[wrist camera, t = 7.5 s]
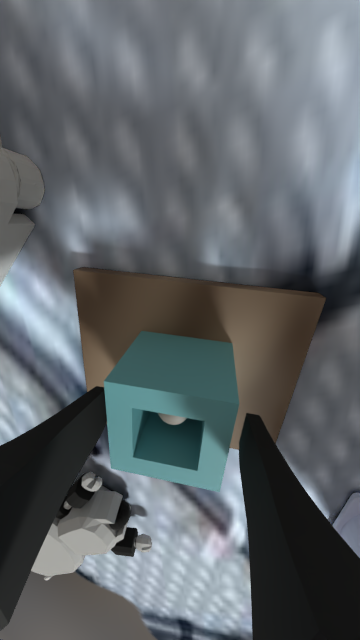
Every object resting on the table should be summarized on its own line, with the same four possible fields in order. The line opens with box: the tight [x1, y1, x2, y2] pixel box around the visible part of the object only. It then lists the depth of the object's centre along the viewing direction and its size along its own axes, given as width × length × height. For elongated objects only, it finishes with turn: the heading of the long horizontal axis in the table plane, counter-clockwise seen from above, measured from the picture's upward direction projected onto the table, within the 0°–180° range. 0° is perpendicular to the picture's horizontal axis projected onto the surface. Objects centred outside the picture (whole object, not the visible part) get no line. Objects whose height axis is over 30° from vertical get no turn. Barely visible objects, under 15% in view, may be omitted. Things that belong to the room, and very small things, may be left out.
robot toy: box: [31, 472, 152, 580], centre depth 23 cm, size 12×4×15 cm
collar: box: [104, 331, 239, 492], centre depth 12 cm, size 6×6×5 cm
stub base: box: [73, 267, 326, 450], centre depth 13 cm, size 14×12×5 cm
